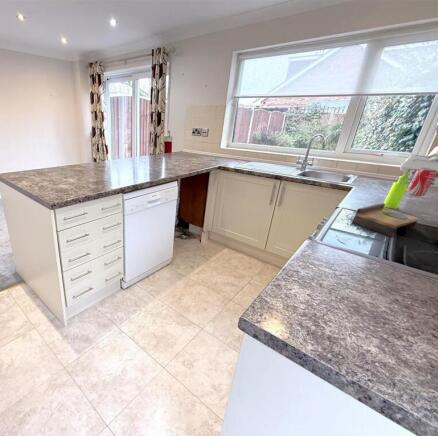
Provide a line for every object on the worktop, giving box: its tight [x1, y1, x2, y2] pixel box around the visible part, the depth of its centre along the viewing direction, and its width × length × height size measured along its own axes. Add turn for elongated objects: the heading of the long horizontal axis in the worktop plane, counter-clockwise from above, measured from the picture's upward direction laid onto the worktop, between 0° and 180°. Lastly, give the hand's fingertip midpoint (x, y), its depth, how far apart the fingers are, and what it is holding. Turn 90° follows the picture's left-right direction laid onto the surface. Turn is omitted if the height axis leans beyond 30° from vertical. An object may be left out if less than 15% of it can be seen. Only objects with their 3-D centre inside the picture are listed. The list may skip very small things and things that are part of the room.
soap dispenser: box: [383, 172, 410, 210], centre depth 130 cm, size 6×7×20 cm
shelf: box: [351, 202, 420, 238], centre depth 108 cm, size 14×22×7 cm, turn 117°
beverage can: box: [405, 168, 437, 198], centre depth 109 cm, size 6×6×12 cm
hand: (421, 181), depth 108 cm, fingers closed on beverage can, 6 cm apart
